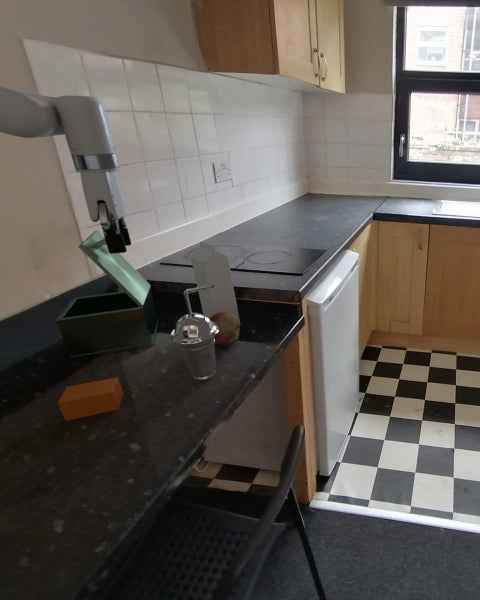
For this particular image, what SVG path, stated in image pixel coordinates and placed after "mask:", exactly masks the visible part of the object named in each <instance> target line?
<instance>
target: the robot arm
mask: <svg viewBox="0 0 480 600" xmlns="http://www.w3.org/2000/svg"><path fill="white" fill-rule="evenodd" d="M0 133H2V134H6V135H11V136H14V137H19V138H24V139H35V138H48V137H49V138H50V137H56V136H63V135H64V136H65V141H66V143H67V147H68V150H69V153H70V157H71V160H72V164H73V166H74V169H75V172H76V173H80V179H81V187H82V191H83V195H84V198H85V199H84V200H85V203H86V207H87V211H88V215H89V218H90V221H92V222H93V223H97V222H99V224H100V226H101V229H102V233H103V234H102V235H103V237H104V238H105V241H106V244H107V247H108V251H109V253H110V254H115V253H120V254H124V253H126V252H128V249H127V247H128V246H129V247H130V246H131V245H132V240H131V237H130V233H129V229H128V227H127V223H126V220H125V217H124V215H125V214H126V210H127V209H126V205H125V200H124V196H123V192H122V188H121V186H120V183H119V178H118V176H117V173H116V171H117V172H119V171H121V167H120V163H119V159H118V156H117V152H116V151H117V150H116V148H115V144H114V140H113V136H112V132H111V128H110V125H109V121H108V118H107V113H106V110H105V106H104V104H103V102H102V101H101V100H100V99H99V98H97V97H95V96H89V95H88V96H87V95H61V96H58V97H57V96H48V95H42V94H35V93H30V92H24V91H17V90H13V89H10V88H7V87H4V86H1V85H0Z"/></svg>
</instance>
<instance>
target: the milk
mask: <svg viewBox="0 0 480 600" xmlns="http://www.w3.org/2000/svg"><path fill="white" fill-rule="evenodd" d="M199 246H200V248H199V249H197V251H195V253H193V254H192V255H191V256H190V260H191V265H192V270H193V274H194V279H195V283H196V288H197V287H202V286H207V285H213V287H214V288H211V289H206V290H201V291H197V292H198V297H199V301H200V305H201V311H202V314H204V315H205V316H207V317H208V318H210V317H211V316H213V315H215V314H217V313H221V312H228V313H230V314H233V315H235V316H236V317H237V318H238V320H239V326H241V321H240V315H239V309H238V304H237V298H236V293H235V288H234V283H233V277H232V270H231V265H230V260H229V255H228V254H225V253H221V252H219V251H216V248H215V245H214V244H211V243H207V242H204V241H199Z"/></svg>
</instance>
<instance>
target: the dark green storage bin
mask: <svg viewBox="0 0 480 600" xmlns="http://www.w3.org/2000/svg"><path fill="white" fill-rule="evenodd" d="M55 322H56V325H57V327H58V330H59V332H60V336H61V338H62V340H63V343H64V345H65V348H66V350H67V353H68V355H69V358H70V361H76V360H81V359H82V360H83V359H88V358H93V357H98V356H104V355H105V356H106V355H111V354H115V353H117V354H118V353H121V352H128V351H133V350H139V348H140V349H144V347H145V348H150V347H149V346H151V347H153V346H154V345H155V340H156V337H157V333H158V329H159V326H160V320H159V317H158V312H157V310H156V306H155V303H154V299H153V294H152V291H151V287H150V288H149V291H148V294H147V296H146V299H145V301H144V304H143V306H141V307H139V306H138V305H137V304H136V303H135V302H134V301H133V300H132V299H131V298H130V297H129V296H128V295H127V294H126V293H125V292H124V291H123V290H122V291H115V292H109V293H100V294H93V295H85V296H77V297H73V298H72V299H71V300H70V302H69V303H68V304H67V305H66V306H65V308H64V309H63V311H61V313H60V314H59V315H58V317H56V319H55Z"/></svg>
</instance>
